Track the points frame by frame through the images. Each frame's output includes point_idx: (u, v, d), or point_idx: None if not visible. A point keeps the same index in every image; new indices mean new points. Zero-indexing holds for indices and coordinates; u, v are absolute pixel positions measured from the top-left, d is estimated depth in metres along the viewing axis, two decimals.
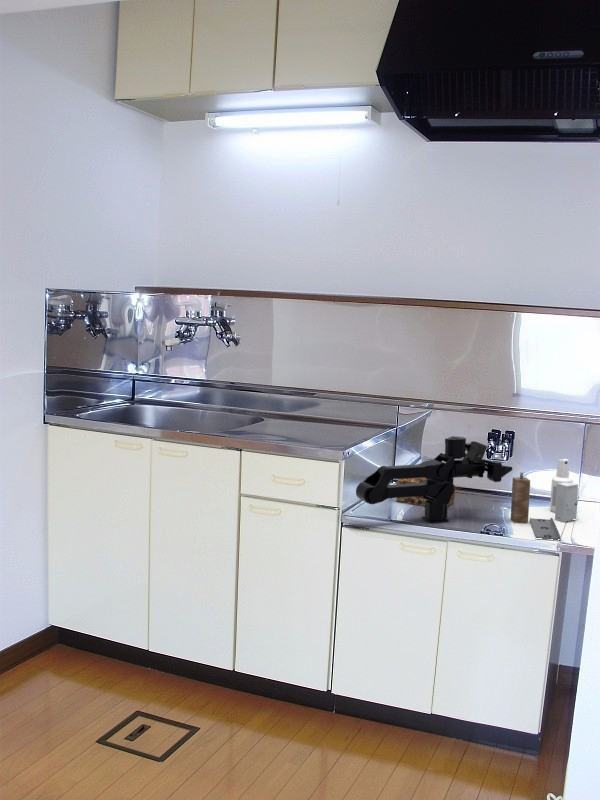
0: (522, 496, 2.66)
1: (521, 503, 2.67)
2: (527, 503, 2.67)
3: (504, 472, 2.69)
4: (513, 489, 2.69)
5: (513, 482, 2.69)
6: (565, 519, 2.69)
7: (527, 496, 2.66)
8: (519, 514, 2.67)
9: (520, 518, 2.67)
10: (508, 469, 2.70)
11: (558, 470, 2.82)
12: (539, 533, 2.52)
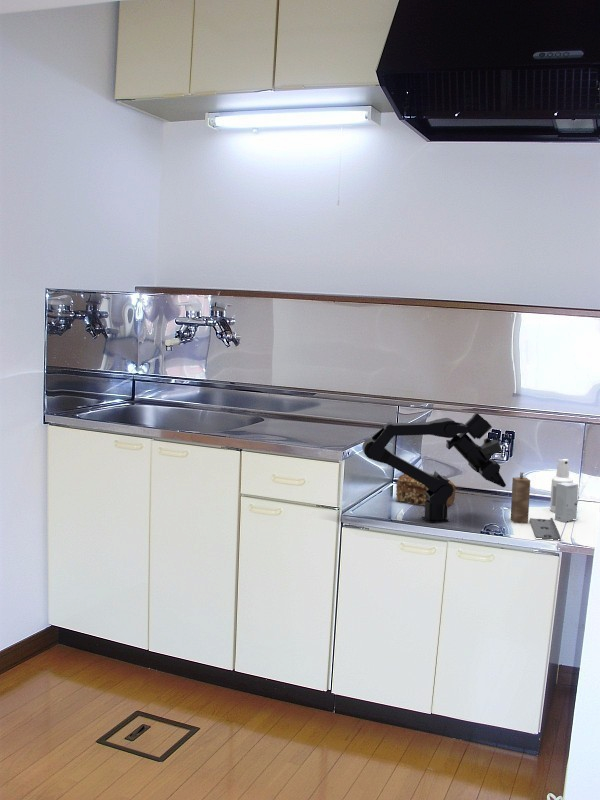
0: (522, 496, 2.66)
1: (521, 503, 2.67)
2: (527, 503, 2.67)
3: (496, 480, 2.62)
4: (513, 489, 2.69)
5: (513, 482, 2.69)
6: (565, 519, 2.69)
7: (527, 496, 2.66)
8: (519, 514, 2.67)
9: (520, 518, 2.67)
10: (501, 482, 2.62)
11: (558, 470, 2.82)
12: (539, 533, 2.52)
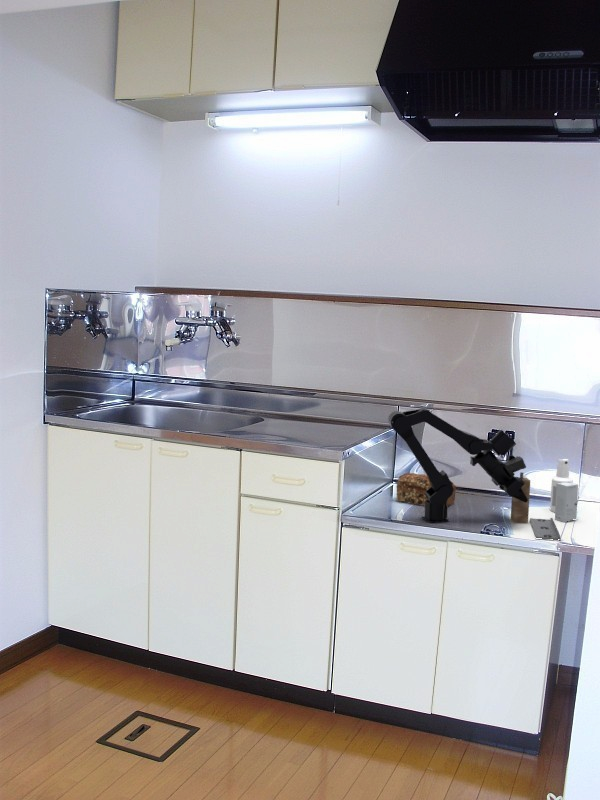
0: None
1: (521, 503, 2.67)
2: (527, 503, 2.67)
3: (518, 496, 2.65)
4: None
5: None
6: (565, 519, 2.69)
7: (527, 496, 2.66)
8: (519, 514, 2.67)
9: (520, 518, 2.67)
10: (523, 498, 2.65)
11: (558, 470, 2.82)
12: (539, 533, 2.52)
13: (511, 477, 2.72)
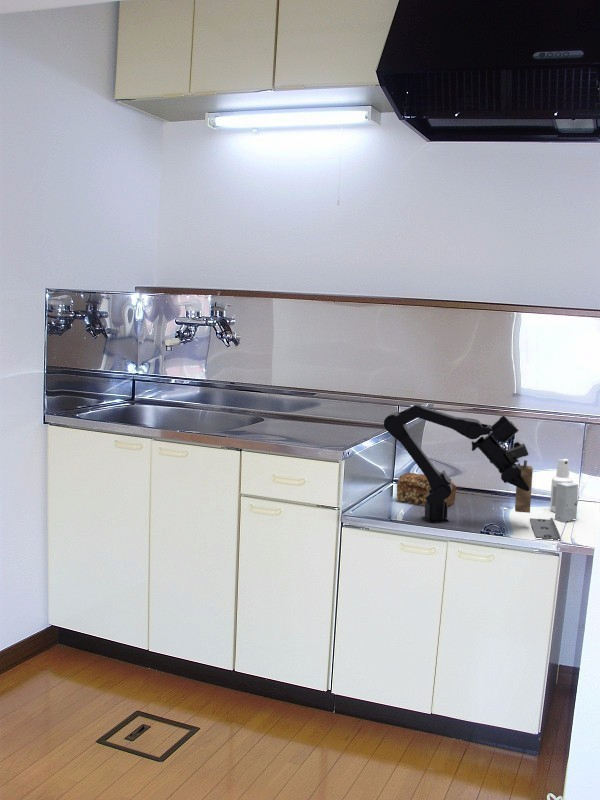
0: None
1: (523, 492, 2.59)
2: (529, 492, 2.59)
3: (518, 483, 2.58)
4: None
5: None
6: (565, 519, 2.69)
7: (529, 485, 2.58)
8: (520, 503, 2.60)
9: (521, 507, 2.60)
10: (524, 486, 2.58)
11: (558, 470, 2.82)
12: (539, 533, 2.52)
13: (517, 465, 2.65)
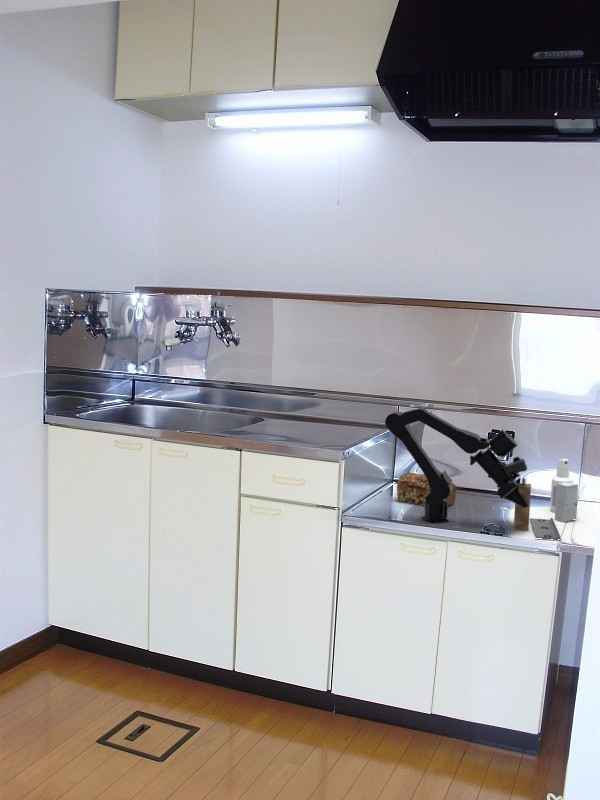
0: None
1: (521, 510, 2.57)
2: (527, 510, 2.57)
3: (515, 500, 2.55)
4: None
5: None
6: (565, 519, 2.69)
7: (527, 503, 2.57)
8: (518, 521, 2.58)
9: (520, 525, 2.58)
10: (522, 502, 2.55)
11: (558, 470, 2.82)
12: (539, 533, 2.52)
13: (518, 479, 2.64)
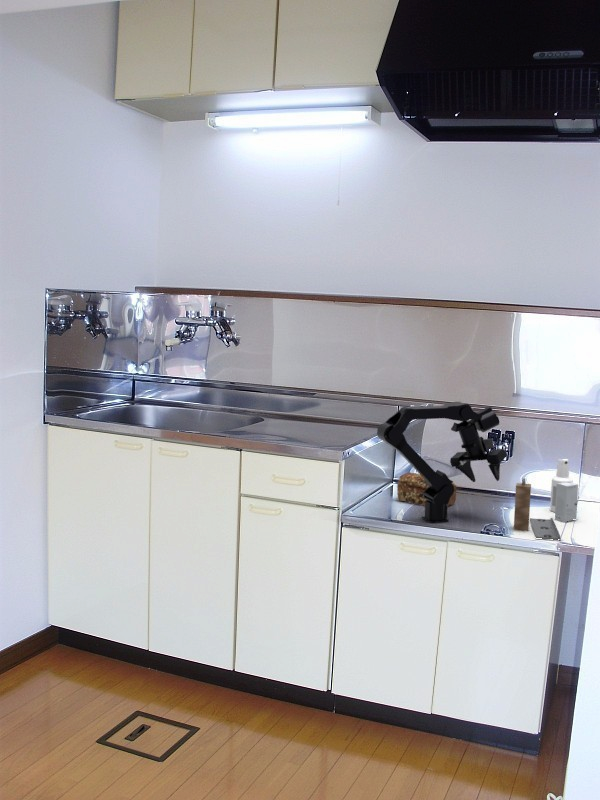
0: (522, 502, 2.57)
1: (521, 510, 2.57)
2: (527, 510, 2.57)
3: (496, 471, 2.66)
4: None
5: None
6: (565, 519, 2.69)
7: (527, 503, 2.57)
8: (518, 521, 2.58)
9: (520, 525, 2.58)
10: (498, 475, 2.67)
11: (558, 470, 2.82)
12: (539, 533, 2.52)
13: None
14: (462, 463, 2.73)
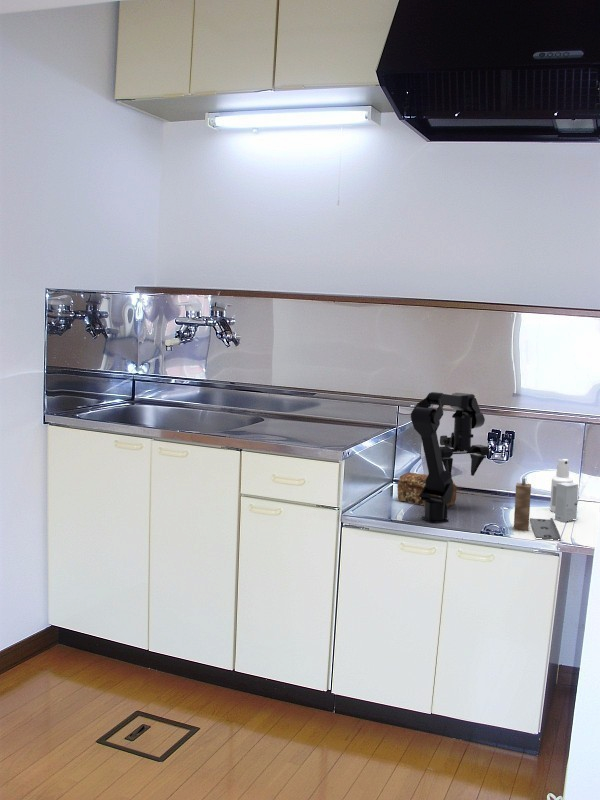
0: (522, 502, 2.57)
1: (521, 510, 2.57)
2: (527, 510, 2.57)
3: None
4: None
5: None
6: (565, 519, 2.69)
7: (527, 503, 2.57)
8: (518, 521, 2.58)
9: (520, 525, 2.58)
10: None
11: (558, 470, 2.82)
12: (539, 533, 2.52)
13: None
14: None
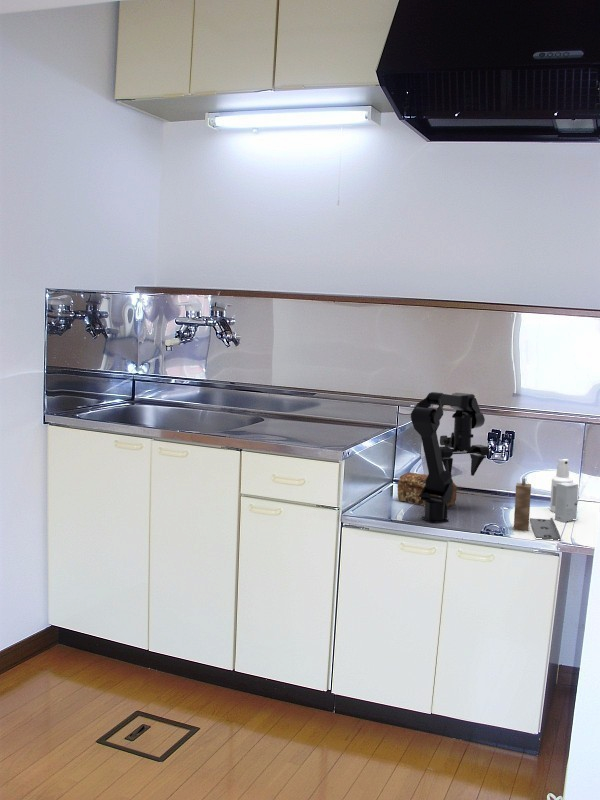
0: (522, 502, 2.57)
1: (521, 510, 2.57)
2: (527, 510, 2.57)
3: None
4: None
5: None
6: (565, 519, 2.69)
7: (527, 503, 2.57)
8: (519, 521, 2.58)
9: (520, 525, 2.58)
10: None
11: (558, 470, 2.82)
12: (539, 533, 2.52)
13: None
14: None
